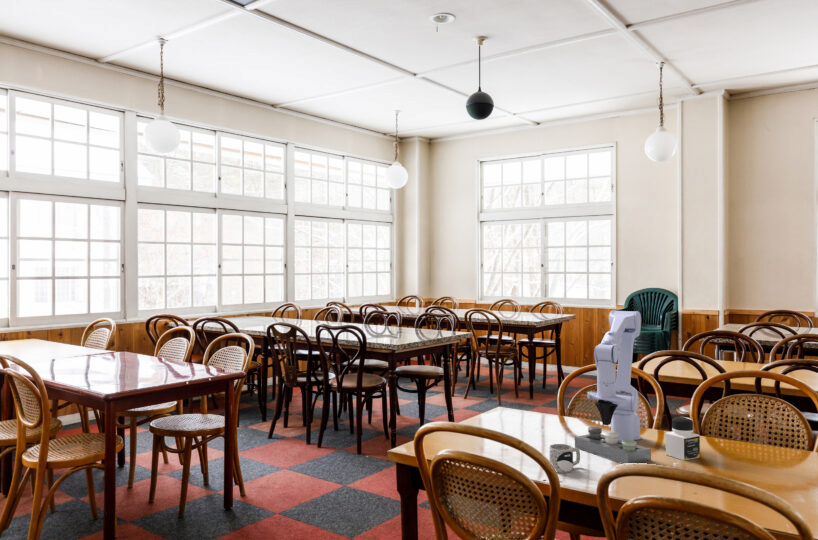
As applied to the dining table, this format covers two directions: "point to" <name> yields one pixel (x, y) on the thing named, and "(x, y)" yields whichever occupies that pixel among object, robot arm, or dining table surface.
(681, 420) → the medicine bottle
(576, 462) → the mug
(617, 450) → the key console
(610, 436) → the ivory key
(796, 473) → the dining table surface
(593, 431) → the grey rounded knob
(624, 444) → the sage key
